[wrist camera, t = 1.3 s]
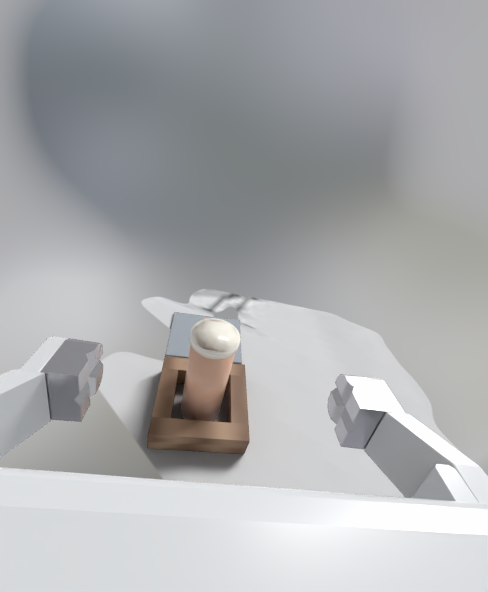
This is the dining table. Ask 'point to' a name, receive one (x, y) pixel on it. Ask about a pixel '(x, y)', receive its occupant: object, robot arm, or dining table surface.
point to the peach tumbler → (208, 368)
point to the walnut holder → (198, 432)
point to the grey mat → (181, 335)
